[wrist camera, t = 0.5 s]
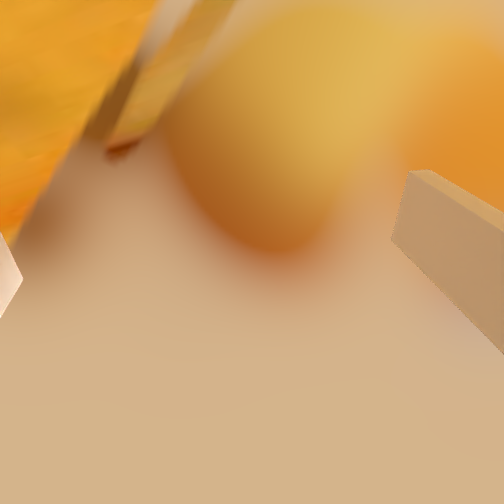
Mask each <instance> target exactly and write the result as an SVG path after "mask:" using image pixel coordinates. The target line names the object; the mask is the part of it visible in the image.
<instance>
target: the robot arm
mask: <svg viewBox="0 0 504 504" xmlns="http://www.w3.org/2000/svg"><path fill="white" fill-rule="evenodd" d="M391 240H392V241H393V242H394V243H395V244H396V245H397V246H398V247H399V248H400V249H401V250H402V252H404V254H405V255H407V257H408V258H409V259H410V260H411V261H412V262H413V263H414V264H415V265H416V266H417V267H418V268H419V269H420V270H421V271H422V272H423V273H424V274H425V275H426V276H427V277H428V278H429V279H430V280H431V281H432V282H433V283H434V284H435V285H436V286H437V287H438V288H439V289H440V290H441V291H442V292H443V293H444V294H445V295H446V296H447V297H448V298H449V299H450V300H451V301H452V302H453V303H454V304H455V305H456V306H457V307H458V308H459V309H460V310H461V311H462V312H463V313H464V314H465V316H466V317H467V318H469V320H470V321H471V322H472V323H473V324H474V325H475V326H476V327H477V328H478V329H479V330H480V331H481V332H482V333H483V334H484V335H485V336H486V337H487V338H488V339H489V340H490V341H491V342H492V343H493V344H494V345H495V346H496V347H497V348H498V349H499V350H500V351H501V352H502V353H503V354H504V213H503V212H501V211H500V210H498V209H496V208H494V207H493V206H491V205H489V204H488V203H486V202H484V201H482V200H481V199H479V198H477V197H475V196H474V195H472V194H470V193H469V192H467V191H465V190H463V189H462V188H460V187H458V186H456V185H455V184H453V183H451V182H450V181H448V180H446V179H445V178H443V177H441V176H439V175H438V174H436V173H434V172H433V171H431V170H416V171H409V172H408V176H407V180H406V184H405V188H404V192H403V195H402V199H401V203H400V207H399V211H398V215H397V218H396V222H395V226H394V230H393V234H392V238H391ZM22 281H23V278H22V275H21V273H20V271H19V269H18V267H17V265H16V263H15V261H14V259H13V257H12V255H11V252H10V250H9V248H8V246H7V244H6V242H5V240H4V238H3V236H2V234H1V232H0V318H1V316H2V314H3V313H4V311H5V309H6V308H7V306H8V304H9V303H10V301H11V299H12V298H13V296H14V294H15V293H16V291H17V289H18V288H19V286H20V284H21V283H22Z"/></svg>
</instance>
